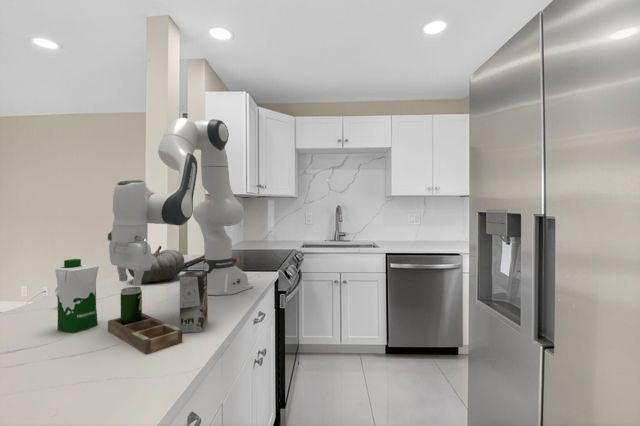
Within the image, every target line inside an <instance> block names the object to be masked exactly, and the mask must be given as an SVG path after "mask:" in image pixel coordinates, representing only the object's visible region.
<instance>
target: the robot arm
mask: <svg viewBox="0 0 640 426" xmlns="http://www.w3.org/2000/svg"><path fill="white" fill-rule="evenodd" d="M228 129H229V128H228V127H227V125H226V124H225V123H224V121H222V120H220V119H213V118H212V119H210V120H209V119H202V120H201V119H200V120H196V121H194V120H191V119H190V118H186V117H178V118H175V119H174V120H173V121H172V123H170V124H169V126H168V127H167V129H165V130H166V131H165V132H164V134H163V136H162V138H161V140H160V142H159V145H158V149H157V153H158V156H159V158H160V160H161V162H162V163H164V164H165V165H166V166H167V167H168V168H170V169H173V170H175V171H178V178H177V184H176V188H175V190H173V191H172V192H169V193H166V192H165V193H163V192H162V193H161V192H158V193H157V192H154V191H152V190H151V189H149V188H148V187H147V184H146V181H144V180H140V179H135V180H134V179H133V180H132V179H131V180H123V181H119V182H117V183H116V185H115V187H114V190H113V195H112V213H113V222H112V229H111V231H110V232H108V233H107V241H108V242H109V244H108V249H109V250H108V251H109V260H110V261H109V262H110V263H111V265H113V266H116V270H117V274H118V280H119V282H127V281H128V274H127V270H128V269H131V270H134V274H135V275H134V278H133V279H132V286H133V287H140V286H142V282H141V279H142V277H143V274H144V271H147V270H150V269H151V266H152V258H151V253H152V248H151V245H150V243H148V239H149V238H148V233H149V230H148V229H149V228H148V226H149V225H148V224H154V225H171V226H183V225H184V224H186V223H187V222H188V221H189V220H190V219H191V217H192V215H193V219H194V220H195V222H197V224H198V226H199V228H200V230H201V233H202V237H203V243H204V258H203V271H207V296H208V295H209V296H221V295H223V296H224V295H225V296H226V295H228V296H229V295H235V294H237V293H241V292H243V291H244V292H245V291H246V290H250V289H252V288H254V284H253V283H251V282H249V280H248V275H247V273H246V272H245V271H243V269H240V268H239V267H238V266H237V265H236V263H237V264H239V263H240V262H241V261H240V260H241V259H240V258H238V257H235V258H234V257H232V255H233V254H232V250H233V249H232V245H233V244H232V239H231V237H230V236H229V235H228V234H227V231H226V230H225V227H231V226H236V225H239V224H240V223H241V222H242V220H243V219H244V217H245V210H244V207H243V205H242V204H241V203H240V202H239V200H237V198H236V197H235V195H234V193H233V191H232V190H233V189H232V187H231V184H230V183H231V182H230V173H229V172H230V171H229V161H228V155H227V151H226V147H225V146H226V145H227V144H228V142H229V135H230V134H229V130H228ZM197 150H198V151H199V150H200V170H201V172H200V174H201V182H202V183H201V184H202V188H203V189H204V190H206V192H207V193H208V195H209V197H210V200H209V199H208V200H204V201H201V202H199V203H197V204H196V205H195V206H194V193H195V189H196V183H197V181H196V180H197V175H198V161H197V158H196V157H195V155H194V152H195V151H197Z"/></svg>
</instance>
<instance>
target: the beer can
mask: <svg viewBox="0 0 640 426" xmlns="http://www.w3.org/2000/svg"><path fill="white" fill-rule="evenodd" d="M142 313H143V291H142V288H141V287H140V286H130V287H128V286H127V287H124V288H121V292H120V318H121V324H122V325H127V324H131V323H135V322H139V321H142Z"/></svg>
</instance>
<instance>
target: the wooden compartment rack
mask: <svg viewBox="0 0 640 426" xmlns="http://www.w3.org/2000/svg"><path fill="white" fill-rule="evenodd" d="M107 331H108V332H109V333H111V334H112V335H114V336H115V337H117V338H119V339H120V340H122V341H124V342H125V343H127V344H129V345H131V346H132V347H133V348H135V349H137V350H138V351H140V352H142V353H144V354H145V355H148V354H151V353H154V352H157V351H159V350H163V349H167V348H169V347H172V346H174V345H178V344H180V343H183V333H182V330H180V327H177V326H175V325H172V324H170V323H166V322H164V321H161V320H159V319H157V318H154V317H152V316H150V315H148V314H146V313H143V312H142V321H139V322H135V323H131V324H127V325H122V324H121V317H118V318H114V319H108V320H107Z"/></svg>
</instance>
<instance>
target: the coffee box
mask: <svg viewBox="0 0 640 426" xmlns="http://www.w3.org/2000/svg"><path fill="white" fill-rule="evenodd" d="M208 308H209V307H208V295H207V271H204V270H194V271H185V273H183V274H181V276H179V329H180V330H182V334H186V333H202V332H203V330H204V329H205V327H206V325H207V324H208V315H209V314H208Z"/></svg>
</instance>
